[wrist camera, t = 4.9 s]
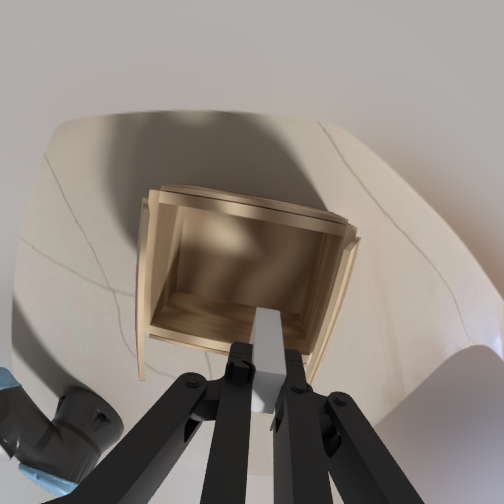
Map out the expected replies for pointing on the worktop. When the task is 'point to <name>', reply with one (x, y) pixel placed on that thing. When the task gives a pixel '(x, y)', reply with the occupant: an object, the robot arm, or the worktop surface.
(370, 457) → the robot arm
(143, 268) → the flap
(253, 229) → the carton
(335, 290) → the flap
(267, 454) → the worktop surface
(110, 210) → the worktop surface
